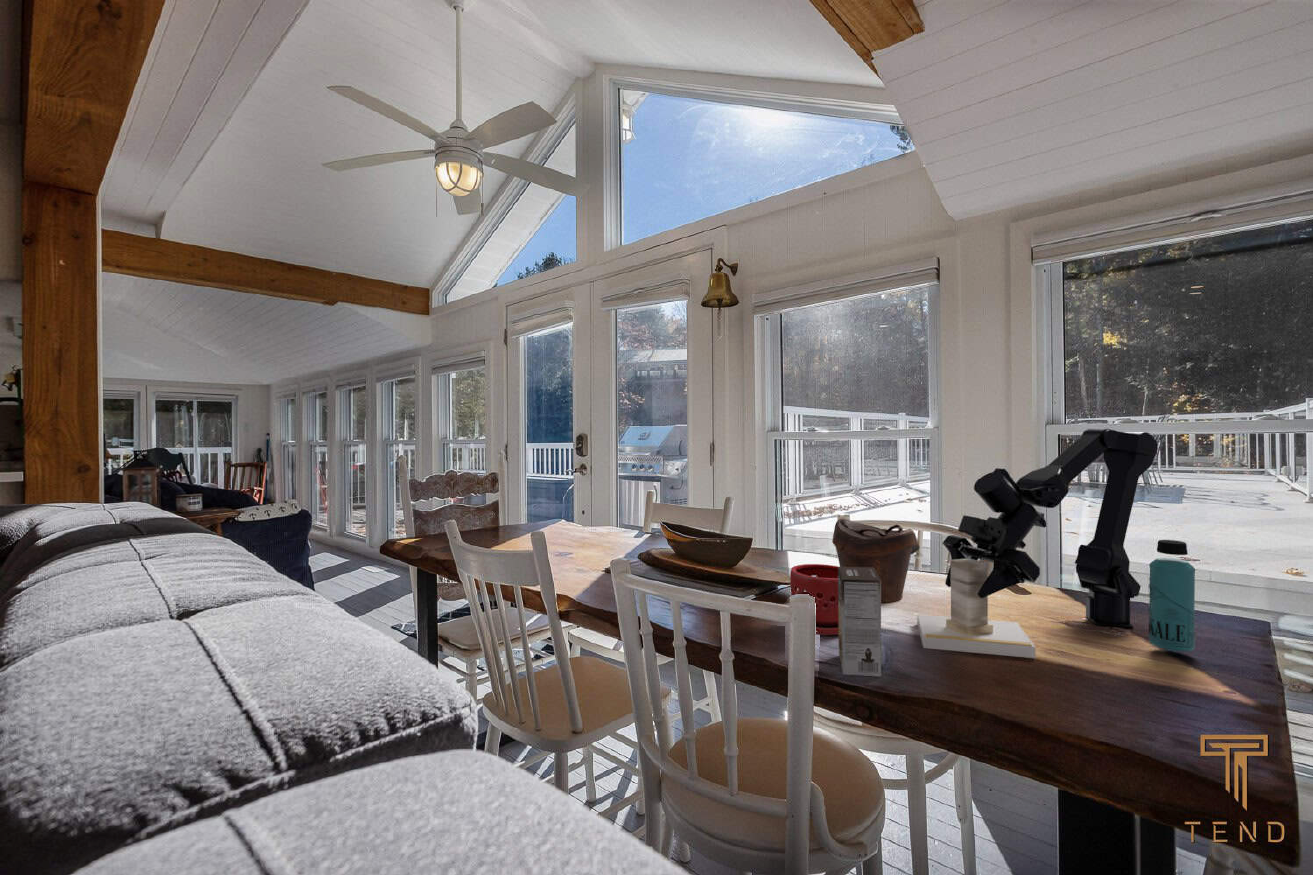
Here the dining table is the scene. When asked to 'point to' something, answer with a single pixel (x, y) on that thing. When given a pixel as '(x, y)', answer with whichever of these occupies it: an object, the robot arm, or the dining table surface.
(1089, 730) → the dining table surface
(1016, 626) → the white rectangular slab
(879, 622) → the coffee box
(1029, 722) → the dining table surface
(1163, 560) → the beverage bottle
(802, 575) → the plant pot
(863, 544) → the brown tapered planter
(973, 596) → the white stepped pillar
